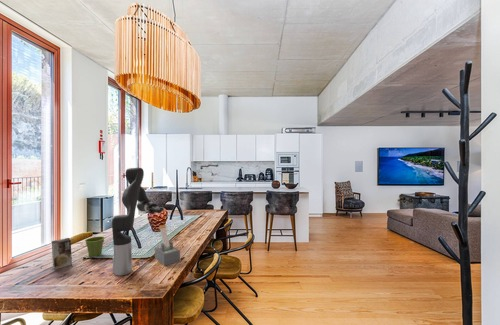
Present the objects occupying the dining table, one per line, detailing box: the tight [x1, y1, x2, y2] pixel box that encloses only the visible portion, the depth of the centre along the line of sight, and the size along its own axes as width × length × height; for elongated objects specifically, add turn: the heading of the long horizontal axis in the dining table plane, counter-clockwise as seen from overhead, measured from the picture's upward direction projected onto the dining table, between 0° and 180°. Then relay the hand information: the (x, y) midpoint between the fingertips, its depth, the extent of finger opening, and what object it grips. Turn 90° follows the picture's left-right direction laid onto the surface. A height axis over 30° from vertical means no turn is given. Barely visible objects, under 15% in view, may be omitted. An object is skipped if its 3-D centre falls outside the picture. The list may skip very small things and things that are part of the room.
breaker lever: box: [158, 224, 170, 248], centre depth 165 cm, size 2×4×15 cm
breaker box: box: [154, 241, 181, 267], centre depth 163 cm, size 16×10×11 cm, turn 40°
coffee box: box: [51, 237, 73, 270], centre depth 157 cm, size 9×6×16 cm
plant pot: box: [84, 236, 106, 258], centre depth 173 cm, size 12×12×11 cm
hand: (159, 211), depth 171 cm, fingers closed
